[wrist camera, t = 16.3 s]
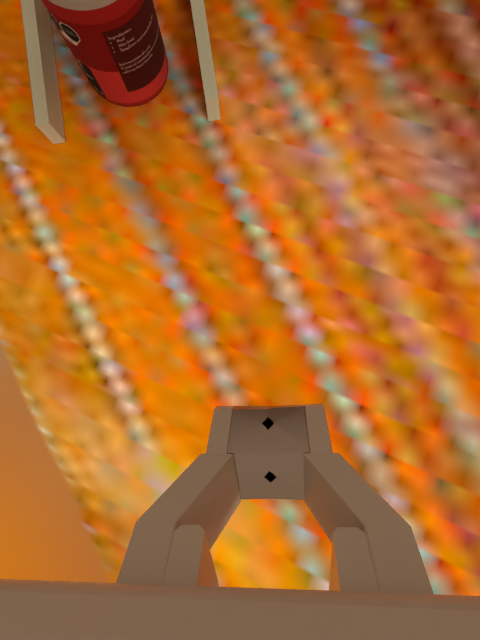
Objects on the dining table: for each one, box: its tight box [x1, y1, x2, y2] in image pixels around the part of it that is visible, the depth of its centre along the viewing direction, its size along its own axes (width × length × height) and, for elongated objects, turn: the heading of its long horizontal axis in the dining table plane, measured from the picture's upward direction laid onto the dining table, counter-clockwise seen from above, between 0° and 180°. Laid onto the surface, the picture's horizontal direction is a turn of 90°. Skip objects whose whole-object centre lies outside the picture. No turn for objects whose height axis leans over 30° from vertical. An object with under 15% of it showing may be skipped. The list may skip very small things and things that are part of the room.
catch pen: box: [21, 0, 221, 144], centre depth 33 cm, size 16×15×3 cm
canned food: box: [41, 0, 168, 106], centre depth 29 cm, size 8×8×11 cm
